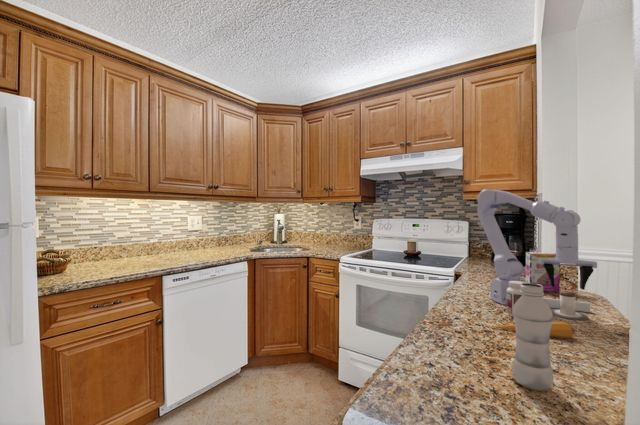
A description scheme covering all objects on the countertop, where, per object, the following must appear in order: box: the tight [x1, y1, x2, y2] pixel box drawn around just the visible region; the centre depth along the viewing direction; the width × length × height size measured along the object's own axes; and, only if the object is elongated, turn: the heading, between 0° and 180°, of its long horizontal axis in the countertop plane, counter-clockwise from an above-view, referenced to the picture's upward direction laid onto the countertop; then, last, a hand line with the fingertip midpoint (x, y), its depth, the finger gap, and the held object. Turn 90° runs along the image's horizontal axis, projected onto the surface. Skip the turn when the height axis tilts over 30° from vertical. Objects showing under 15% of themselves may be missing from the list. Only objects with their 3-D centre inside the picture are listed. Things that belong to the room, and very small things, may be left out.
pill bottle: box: [506, 280, 526, 317], centre depth 97 cm, size 6×6×11 cm
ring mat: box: [550, 308, 589, 321], centre depth 97 cm, size 10×10×1 cm
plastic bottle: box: [512, 282, 554, 392], centre depth 58 cm, size 6×7×20 cm
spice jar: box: [559, 290, 577, 316], centre depth 97 cm, size 4×4×7 cm
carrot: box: [495, 321, 574, 340], centre depth 83 cm, size 20×4×4 cm, turn 67°
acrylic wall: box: [542, 297, 591, 313], centre depth 103 cm, size 1×14×3 cm, turn 60°
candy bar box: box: [525, 251, 561, 293], centre depth 126 cm, size 11×5×16 cm, turn 77°
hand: (567, 287), depth 97 cm, fingers open, 7 cm apart
